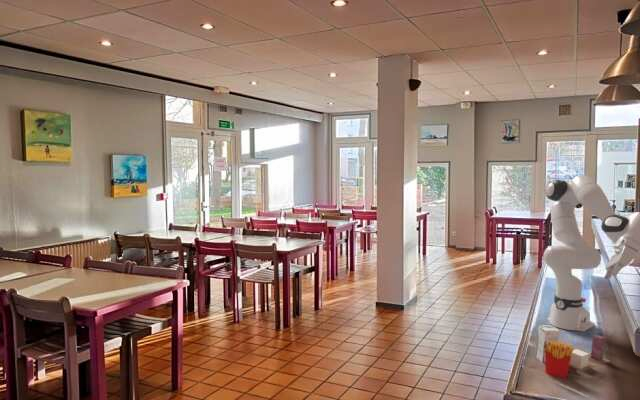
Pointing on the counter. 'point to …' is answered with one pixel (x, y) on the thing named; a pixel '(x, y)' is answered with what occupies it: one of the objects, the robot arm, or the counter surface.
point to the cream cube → (579, 359)
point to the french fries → (558, 359)
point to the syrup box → (545, 340)
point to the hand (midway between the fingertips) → (609, 276)
